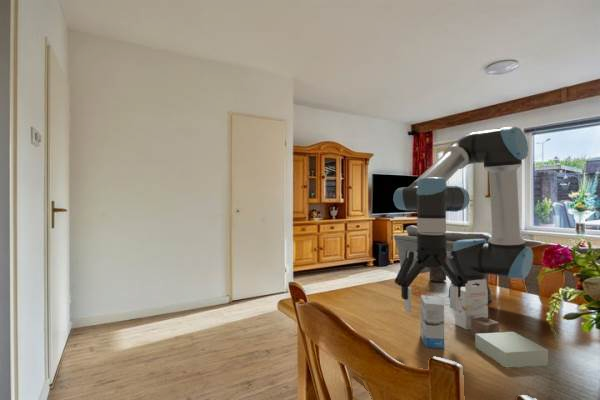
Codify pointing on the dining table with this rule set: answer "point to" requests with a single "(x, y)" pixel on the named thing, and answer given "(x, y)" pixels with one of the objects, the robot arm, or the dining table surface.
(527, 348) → the pedestal block
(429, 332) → the ink box
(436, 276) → the dark brown tall block
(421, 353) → the dining table surface
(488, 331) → the walnut cube
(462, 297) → the ink cartridge box
